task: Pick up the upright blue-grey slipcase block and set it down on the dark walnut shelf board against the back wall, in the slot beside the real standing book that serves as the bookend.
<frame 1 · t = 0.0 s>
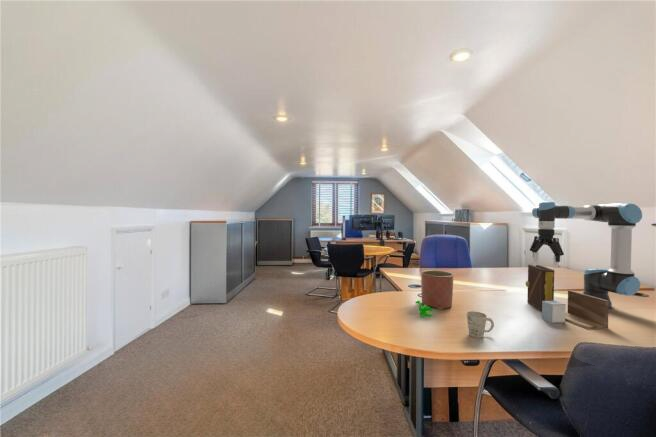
hand: (545, 265, 168), 28 cm above the table, fingers open, 13 cm apart
book: (539, 307, 180), on the table
planter: (436, 305, 183), on the table
slipcase: (553, 320, 157), on the table
figurine: (424, 316, 162), on the table
mug: (480, 335, 137), on the table
shelf: (578, 321, 157), on the table
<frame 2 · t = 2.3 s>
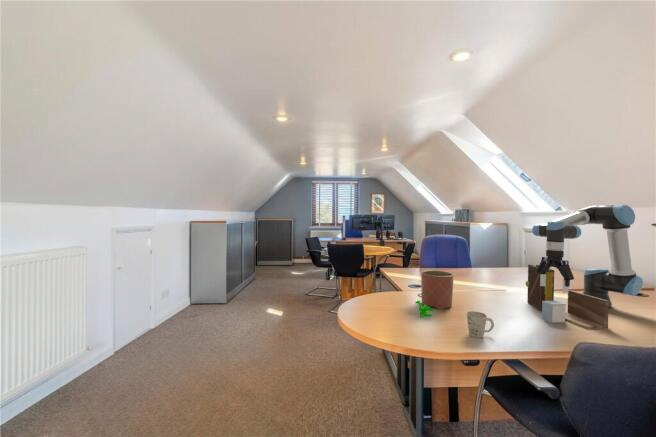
hand: (553, 289, 157), 17 cm above the table, fingers open, 13 cm apart
nothing on the table moved.
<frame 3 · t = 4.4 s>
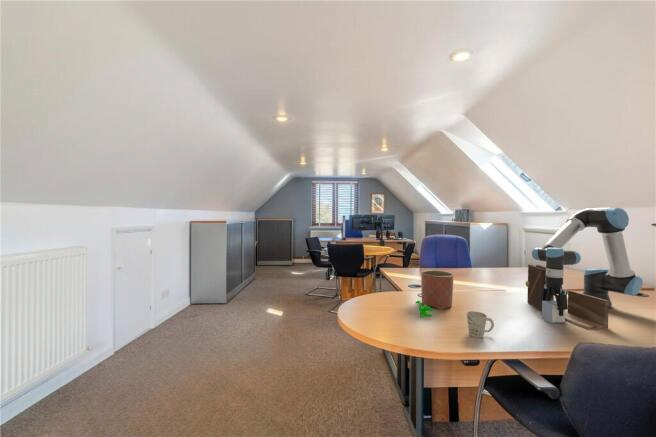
hand: (553, 319, 157), 1 cm above the table, fingers closed on slipcase, 6 cm apart
slipcase: (553, 320, 157), on the table, touching gripper
everything else where it was.
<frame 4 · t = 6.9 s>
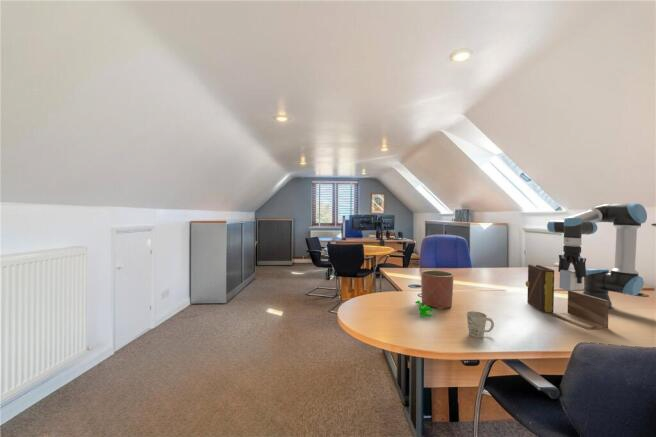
hand: (571, 287, 159), 18 cm above the table, fingers closed on slipcase, 6 cm apart
slipcase: (570, 289, 159), point 17 cm above the table, touching gripper
everything else where it was.
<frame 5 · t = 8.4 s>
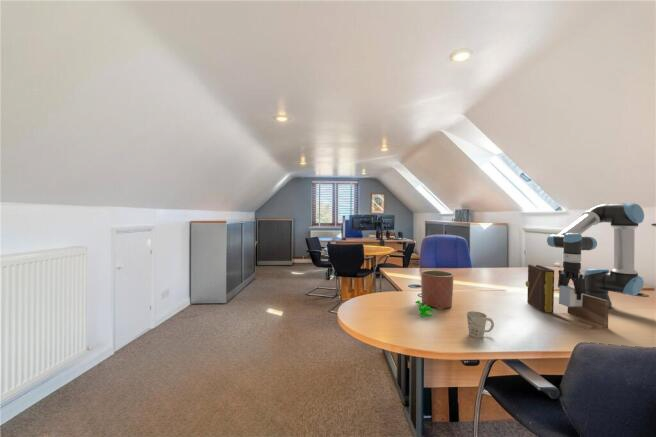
hand: (570, 303, 159), 9 cm above the table, fingers closed on slipcase, 6 cm apart
slipcase: (570, 305, 159), point 8 cm above the table, touching gripper
everything else where it was.
when the fingers open (4 cm above the table, at t = 9.8 s): slipcase drops 1 cm, resting on shelf.
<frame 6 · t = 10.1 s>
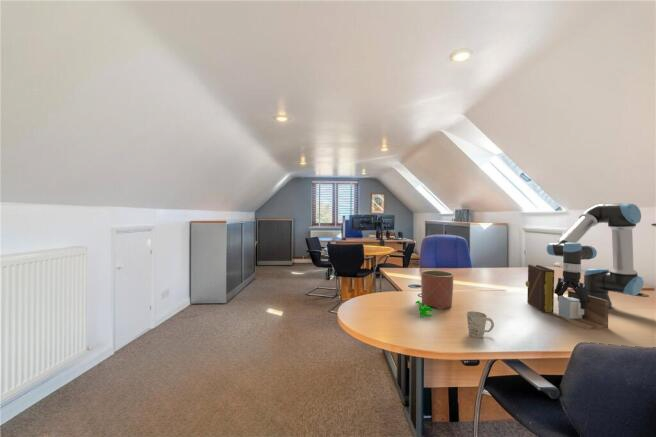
hand: (570, 310, 159), 5 cm above the table, fingers open, 11 cm apart
slipcase: (570, 317, 160), point 1 cm above the table, touching shelf
everything else where it was.
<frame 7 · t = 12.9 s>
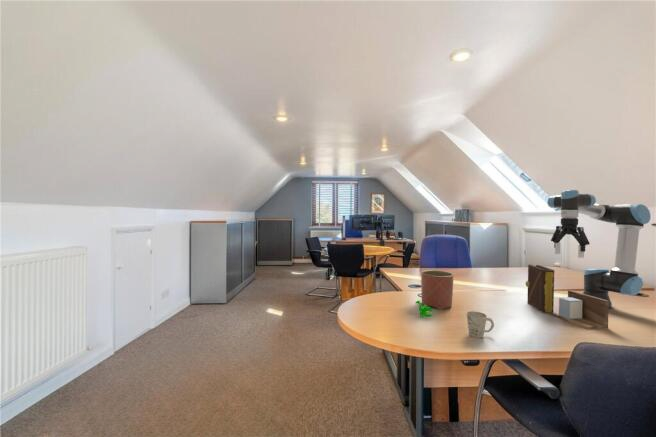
hand: (568, 255, 163), 34 cm above the table, fingers open, 13 cm apart
nothing on the table moved.
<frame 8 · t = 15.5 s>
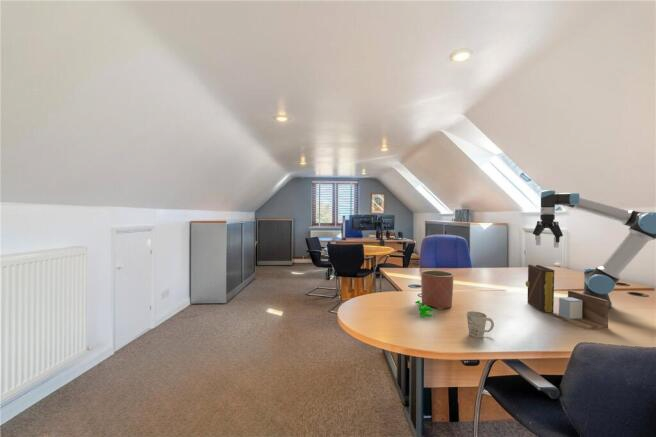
hand: (546, 246, 191), 37 cm above the table, fingers open, 13 cm apart
nothing on the table moved.
at the end: slipcase inside the target area (0.4 cm from its centre), point 1.2 cm above the table; slipcase tilted 0°; the gripper is holding nothing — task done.
